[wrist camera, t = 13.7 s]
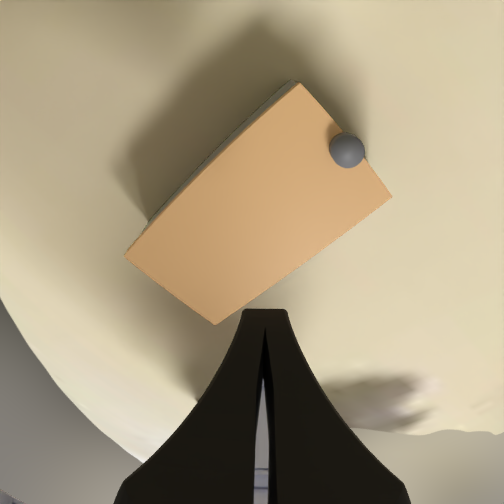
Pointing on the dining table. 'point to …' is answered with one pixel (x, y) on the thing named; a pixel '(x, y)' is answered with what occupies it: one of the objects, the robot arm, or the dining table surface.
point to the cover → (260, 208)
